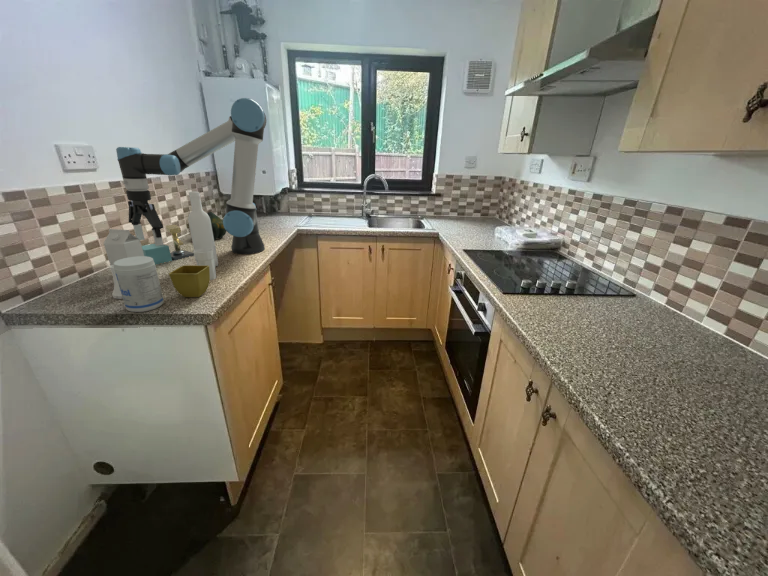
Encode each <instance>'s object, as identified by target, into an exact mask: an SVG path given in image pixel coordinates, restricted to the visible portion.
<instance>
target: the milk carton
mask: <svg viewBox="0 0 768 576" xmlns="http://www.w3.org/2000/svg"><path fill="white" fill-rule="evenodd" d="M142 246H143V245H142V241H141V240H140V239H139V238H137V237H136V235H133V234H132V233H131V232H130V229H116V228H115V229H114V228H113V229H112V228H109V229H108V234H107V236H106V237H105V239H104V241H103V247H104V250H105V252H106V255H107V260H108V261H109V266H111V265H114V264H113V263H114V262H115V261H117V260H120V259H123V258H128V257H136V256H144V253H143V249H142Z"/></svg>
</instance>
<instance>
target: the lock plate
mask: <svg viewBox="0 0 768 576" xmlns="http://www.w3.org/2000/svg"><path fill="white" fill-rule="evenodd" d="M170 254H171V258H172V259H173V260H172V261H178V259H179V260H182V258H183V259H186V258H185V257H187V258H189V256H191V257H194V253H193V251H189V250H188V251H187V250H183V249H180V251H175V250H173V251H172V252H171V251H170Z"/></svg>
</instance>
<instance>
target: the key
mask: <svg viewBox="0 0 768 576" xmlns="http://www.w3.org/2000/svg"><path fill="white" fill-rule="evenodd" d="M165 229H166V231H167V233H170V234H169V235H171V237H172V241H173V245H174V251H180V250H181V246H184V242H183V241H182V240H180V238H179V237H178V234H181V233H182V230H181V227H180V226H178V225H177V224H168V225H166V224H165Z"/></svg>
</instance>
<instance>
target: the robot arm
mask: <svg viewBox="0 0 768 576" xmlns="http://www.w3.org/2000/svg"><path fill="white" fill-rule="evenodd" d="M266 125H267V116H266V114H265V111H264V110H263V108H262V105H260V103H258V102H257V101H256V100H253V99H251V98H247V97H241V98H239V99H237V100H235V101H234V102H233V104H232V106H231V109H230V116H229V117H228V120H227V121H226V122H224V123H222V124H220V125H218V126H216V127H214V128H213V129H211V130H209V131H207V132H206V133H204V134H202V135H200V136H199V137H196V138H194V139H193V140H191V141H189V142H187V143H185V144H183V145H182V146H180V147H178V148H176V149H174V150H172V151H171V152H169V153H167V154H160V153H159V154H157V153H143V152H142V151H141V149H140V148H139V147H129V146H125V147H124V146H117V147H116V149H115V150H116V151H115V152H116V158H117V161H118V166H119V168H120V172H121V175H122V180H123V181H122V183H123V185H124V187H125V189H126V191H125V193H126V197H127V200H128V201H127V204H128V223H130V224H131V225H132V226H133V231H134V234H135V235H134V236H135V237H137V238H139V239H140V241H145V240H146V238H145V235H144V231H143V227H142V223H141V219H142V217H145V219H146V220H147V221H148V223H149V225H150V227H151V231H152V237H153V241H154V244H155V245H156V246H159V245H165V244H164V240H163V236H162V231H161V230H162V229H164V225H163V223H162V221H161V218H160V217H159V214H158V212H157V211H156V206H155V204H154V203H149V201H151V200H152V197H151V196H152V195H151V192H150V190H149V189H150V187H149V183H148V177H147V175H155V176H156V175H158V176H179V175H180V173H182V172H183V171H184V170H186V169H187V168H189V167H191V166H193V165H195V164H196V163H197V162H198V163H199V162H200V161H201V160H204V159H205V158H207V157H209V156H211V155H212V154H214V153H216V152H217V151H219V150H222V149H224V148H225V147H227V146H229V145H231V144H232V143H234V150H233V151H234V152H233V153H234V154H233V162H232V163H233V164H232V175H231V176H232V177H231V179H232V180H231V189H230V199H228V200H227V201H226V205H225V215H224V216H223V219H222V220H223V225H224V228H225V230H226V233H228V234H229V235H231V236H233V237H232V242H231V248H230V249H231V253H234V254H237V255H240V254H241V255H249V254H258V253H261V252H263V251H264V250H265V243H264V241H263V240H262V237H261V234H260V231H259V223H258V214H257V210H258V209H257V207H256V203H254V202H253V201H254V190H255V182H256V171H257V170H256V169H257V161H258V151H259V144H261V143H262V142H263V140H264V132H265V131H264V130H265V128H266Z"/></svg>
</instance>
